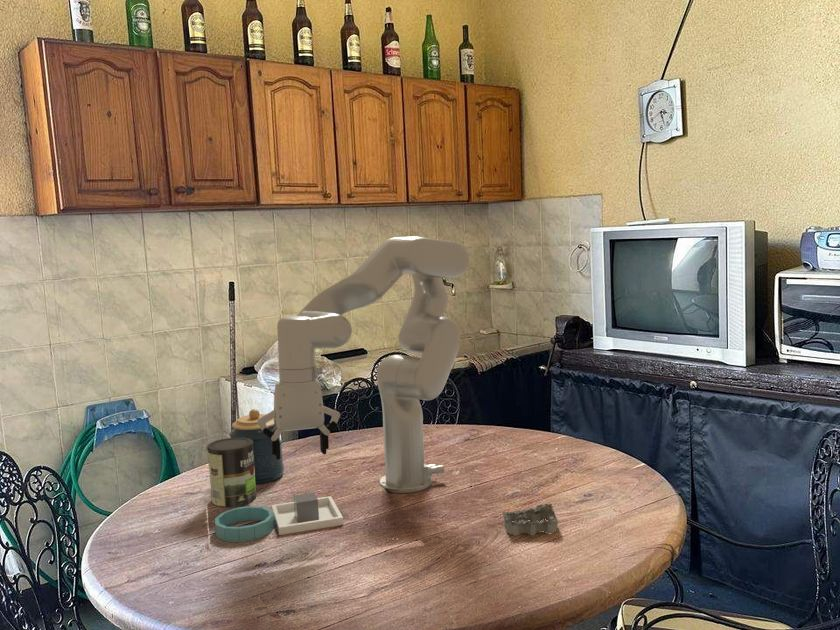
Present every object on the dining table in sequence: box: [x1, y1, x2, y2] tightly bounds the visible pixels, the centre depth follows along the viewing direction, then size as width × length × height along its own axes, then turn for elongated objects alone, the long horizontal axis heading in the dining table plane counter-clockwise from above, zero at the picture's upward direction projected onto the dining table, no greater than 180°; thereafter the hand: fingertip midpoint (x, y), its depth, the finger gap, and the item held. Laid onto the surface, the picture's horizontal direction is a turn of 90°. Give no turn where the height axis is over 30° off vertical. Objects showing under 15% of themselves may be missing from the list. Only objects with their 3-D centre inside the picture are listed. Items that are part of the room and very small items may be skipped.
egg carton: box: [502, 503, 559, 537], centre depth 147 cm, size 11×8×4 cm
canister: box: [228, 408, 285, 485], centre depth 184 cm, size 13×13×18 cm
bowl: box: [214, 505, 275, 543], centre depth 150 cm, size 12×12×4 cm
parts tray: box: [271, 495, 344, 536], centre depth 155 cm, size 13×13×2 cm
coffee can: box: [206, 437, 257, 508], centre depth 167 cm, size 10×10×14 cm
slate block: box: [293, 492, 319, 523], centre depth 155 cm, size 4×4×4 cm
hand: (300, 455), depth 153 cm, fingers open, 9 cm apart
